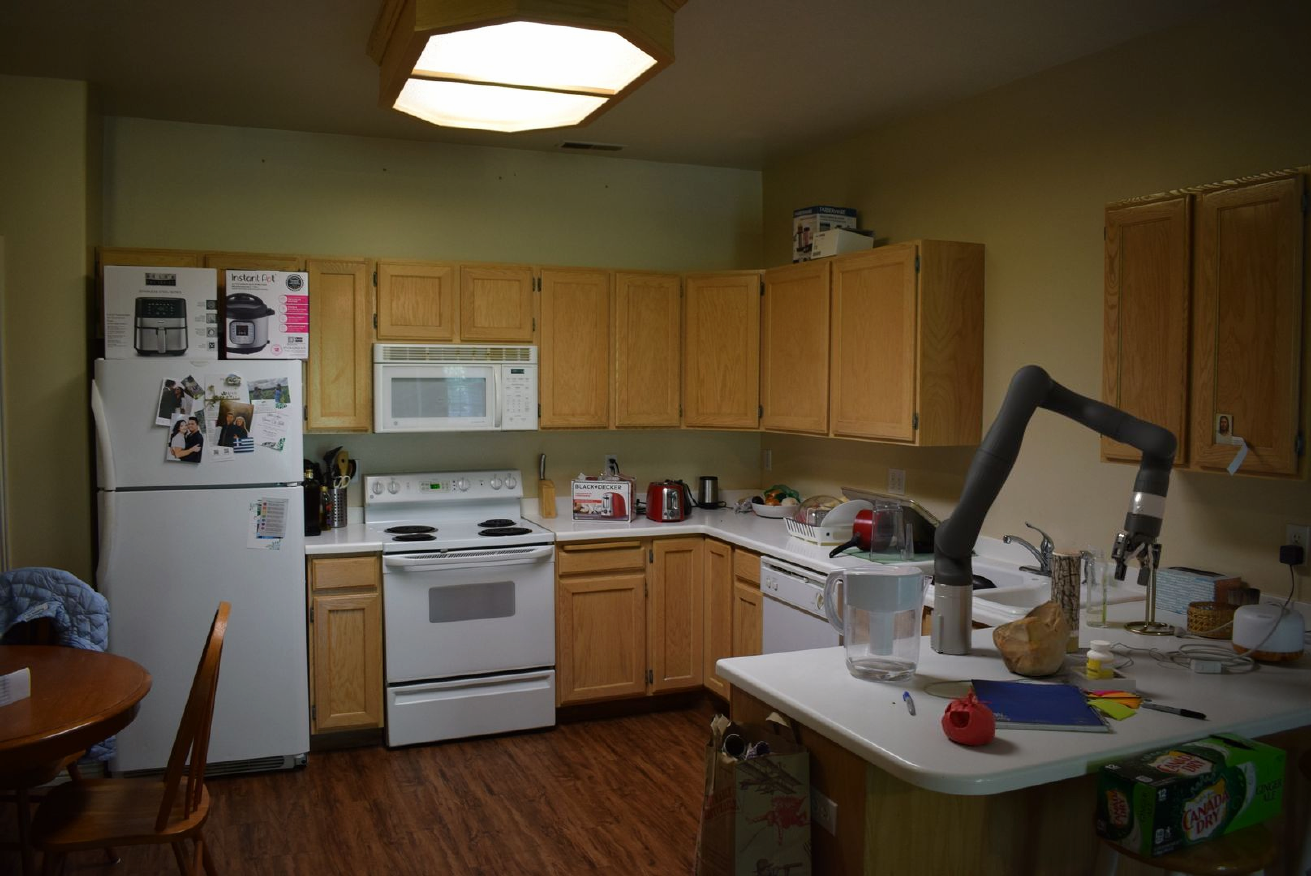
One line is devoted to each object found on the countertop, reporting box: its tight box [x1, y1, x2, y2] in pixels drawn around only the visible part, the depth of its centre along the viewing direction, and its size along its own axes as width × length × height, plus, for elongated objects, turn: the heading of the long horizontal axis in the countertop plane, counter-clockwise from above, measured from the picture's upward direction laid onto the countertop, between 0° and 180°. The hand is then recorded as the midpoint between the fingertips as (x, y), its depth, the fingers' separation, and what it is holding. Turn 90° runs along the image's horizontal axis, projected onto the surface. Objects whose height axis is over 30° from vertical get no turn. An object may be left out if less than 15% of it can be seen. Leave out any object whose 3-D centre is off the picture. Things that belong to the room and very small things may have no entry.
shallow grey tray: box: [1059, 666, 1142, 698], centre depth 214 cm, size 12×12×4 cm
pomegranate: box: [940, 690, 996, 747], centre depth 181 cm, size 10×10×9 cm
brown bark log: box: [1050, 549, 1082, 654], centre depth 246 cm, size 7×7×25 cm
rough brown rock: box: [992, 599, 1070, 677], centre depth 232 cm, size 23×17×15 cm
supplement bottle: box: [1085, 639, 1115, 679], centre depth 214 cm, size 5×5×10 cm
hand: (1130, 582), depth 223 cm, fingers open, 8 cm apart
